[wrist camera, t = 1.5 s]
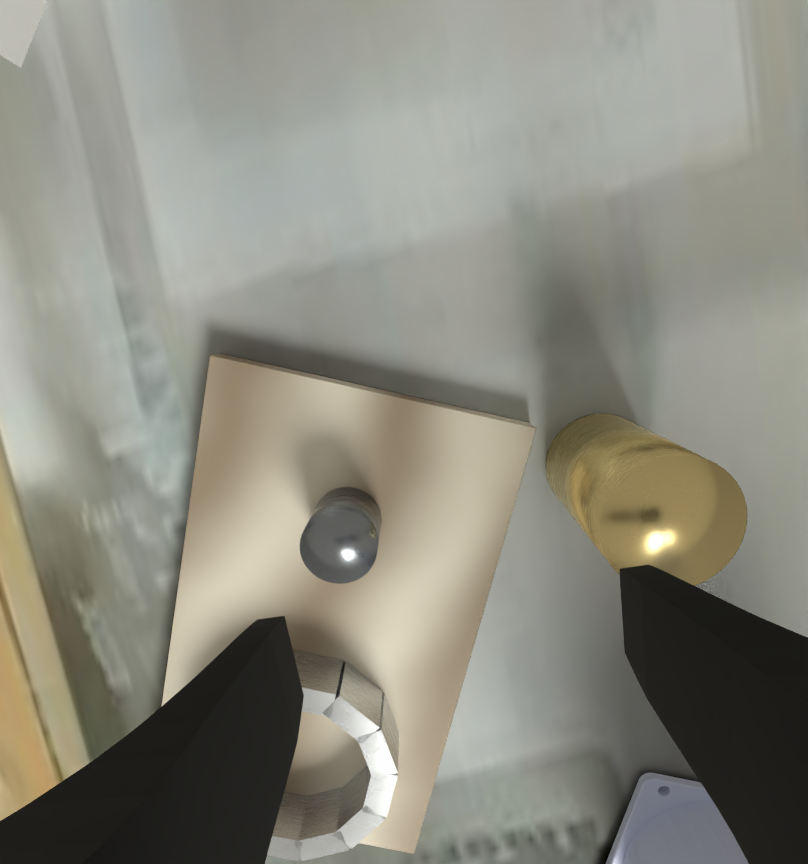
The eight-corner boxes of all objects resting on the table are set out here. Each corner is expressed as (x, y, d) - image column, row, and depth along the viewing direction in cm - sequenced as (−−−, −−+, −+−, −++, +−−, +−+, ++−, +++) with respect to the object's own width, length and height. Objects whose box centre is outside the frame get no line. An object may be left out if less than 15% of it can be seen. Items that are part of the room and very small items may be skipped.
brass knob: (663, 426, 20) (769, 472, 14) (630, 521, 21) (717, 603, 15) (562, 403, 20) (626, 441, 14) (533, 500, 20) (581, 574, 15)
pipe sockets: (457, 510, 20) (464, 538, 17) (374, 827, 23) (370, 888, 20) (249, 464, 19) (225, 486, 17) (196, 792, 23) (169, 850, 20)
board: (530, 423, 20) (536, 428, 19) (413, 831, 24) (413, 853, 23) (220, 353, 19) (210, 355, 18) (159, 781, 24) (148, 801, 23)
